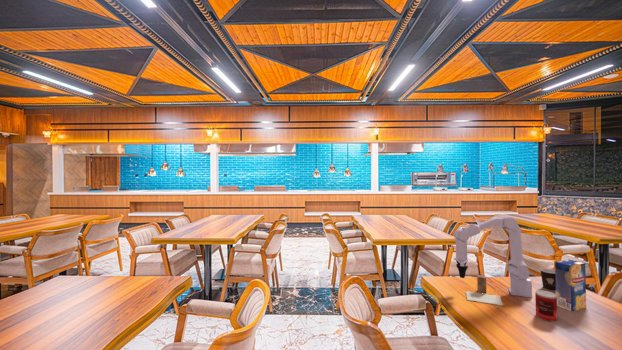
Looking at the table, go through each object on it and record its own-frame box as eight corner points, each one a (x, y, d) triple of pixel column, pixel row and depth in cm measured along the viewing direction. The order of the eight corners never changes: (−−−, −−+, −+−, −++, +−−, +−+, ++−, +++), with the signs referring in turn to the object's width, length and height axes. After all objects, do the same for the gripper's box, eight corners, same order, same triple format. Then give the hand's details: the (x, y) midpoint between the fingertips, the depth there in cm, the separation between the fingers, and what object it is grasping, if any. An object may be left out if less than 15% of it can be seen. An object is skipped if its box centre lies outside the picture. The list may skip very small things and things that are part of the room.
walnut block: (485, 291, 160) (485, 275, 160) (486, 294, 156) (486, 278, 156) (477, 290, 162) (477, 274, 162) (478, 293, 158) (477, 277, 158)
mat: (499, 296, 153) (499, 296, 153) (503, 306, 142) (503, 305, 142) (466, 291, 160) (466, 291, 160) (467, 300, 149) (467, 299, 149)
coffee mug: (537, 287, 165) (537, 270, 165) (545, 284, 168) (545, 267, 168) (561, 294, 154) (561, 276, 154) (569, 291, 158) (569, 273, 158)
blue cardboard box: (586, 307, 139) (585, 263, 139) (572, 311, 135) (571, 265, 135) (569, 301, 145) (568, 259, 145) (555, 305, 142) (554, 261, 142)
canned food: (548, 313, 134) (548, 290, 134) (562, 321, 126) (561, 297, 126) (531, 312, 135) (531, 289, 135) (543, 321, 127) (543, 297, 127)
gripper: (453, 247, 166) (453, 270, 165) (453, 253, 153) (454, 278, 152) (466, 248, 162) (467, 272, 162) (468, 255, 149) (469, 280, 149)
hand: (461, 275), depth 157 cm, fingers open, 7 cm apart
